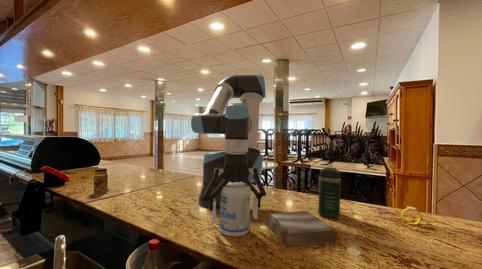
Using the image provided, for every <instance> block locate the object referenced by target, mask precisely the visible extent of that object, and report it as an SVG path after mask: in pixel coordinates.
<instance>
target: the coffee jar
mask: <svg viewBox="0 0 482 269" xmlns="http://www.w3.org/2000/svg"><path fill="white" fill-rule="evenodd" d="M318 177H319V178H318V212H317V213H318V215H319V216H321V217H325V218H326V219H332V218H333V219H339V217H340V214H341V213H340V211H341V210H340V209H341V208H340V207H341V206H340V204H341V182H342V181H341V171H340V170H339V169H337V168H336V167H331V166H330V167H329V166H326V167H324V168H321V169H320V170H319V176H318Z"/></svg>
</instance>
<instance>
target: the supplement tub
mask: <svg viewBox="0 0 482 269" xmlns="http://www.w3.org/2000/svg"><path fill="white" fill-rule="evenodd" d="M251 192H252V191H251V189H250V186H248V185H247V184H246V183H245V182H234V183H231V182H230V181H229V183H228V184H226V185H225V186H224V187H223V189H222V190H221V201H220V208H219V231H220V233H221V234H222V235H225V236H227V237H234V238H235V237H237V238H238V237H243V236H245V235H246V234H248V233H249V231H250V218H251V217H250V214H251V195H252V194H251Z"/></svg>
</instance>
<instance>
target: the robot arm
mask: <svg viewBox="0 0 482 269" xmlns="http://www.w3.org/2000/svg"><path fill="white" fill-rule="evenodd" d="M266 93H267V92H266V83H265V77H264V76H263V75H262V74H244V75H243V74H239V75H238V74H233V75H231V76H228V77H227V76H226V77H224V79H222V80H220V81H219V82H218V83H217V85H216V86H215V87H214V93H213V95H212V96H211V98H210V100H209V101H208V103H207V105H206V107H205V108H204V110H203V111H202V113H200V112H198V113H194V114H193V115H192V116H191V120H190V127H191V131H192V132H193V133H195V134H202V135H205V134H206V135H224V136H225V137H224V150H218V151H210V152H207V153H206V152H205V153H204V155H203V162H202V165H203V166H202V186H201V189H200V193H199V196H198V205H199V206H201V207H204V208H208V210H209V211H210V212H211V222H212V223H216V215H217V214H216V213H217V211H216V210H217V208H218V209H220V201H221V190H222V189H223V187H224V186H225V185H226V184H228V183H230V182H231V183H234V182H239V183H245V184H247V185H248V186H250V190H251V191H250V192H252V194H254V196H252V217H253V218H254V220H258V210H259V209H260V208H261V201H262V198H263V197H266V196H267V192H266V190H265V187H264V185H263V183H262V180H261V175H262V173H263V172H262V171H263V166H264V155H262V154H261V150H260V149H259V148H258V146H259V145H258V143H259V142H258V141H259V124H260V122H259V121H260V104H262V102H263V101H264V99H265V98H266V97H267V94H266ZM232 99H239V101H240V102H241V103H230V104H228V103H229V102H230V101H231V100H232ZM251 182H255V184H256V186H257V188H258V190H259V191H258V190H257V189H256V187H255V186H254V185H253V184H252V183H251Z"/></svg>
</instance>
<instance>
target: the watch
mask: <svg viewBox="0 0 482 269" xmlns="http://www.w3.org/2000/svg"><path fill="white" fill-rule="evenodd" d="M407 211H412V212H416V213H417V215H418V219H417V220H416V221H414V222H411V221H410V222H407V221H406V220H405V218H404V216H405V213H406V212H407ZM400 218H401V220H402V221H403V222H404V223H406V225H412V226H418V225H419V224H420V223H421V222H422V220H423V217H422V214H421V212H420V211H419V210H417V208H416V207H414V206H406V207H405V208H404V209H403V210H402V211H401V213H400Z"/></svg>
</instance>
